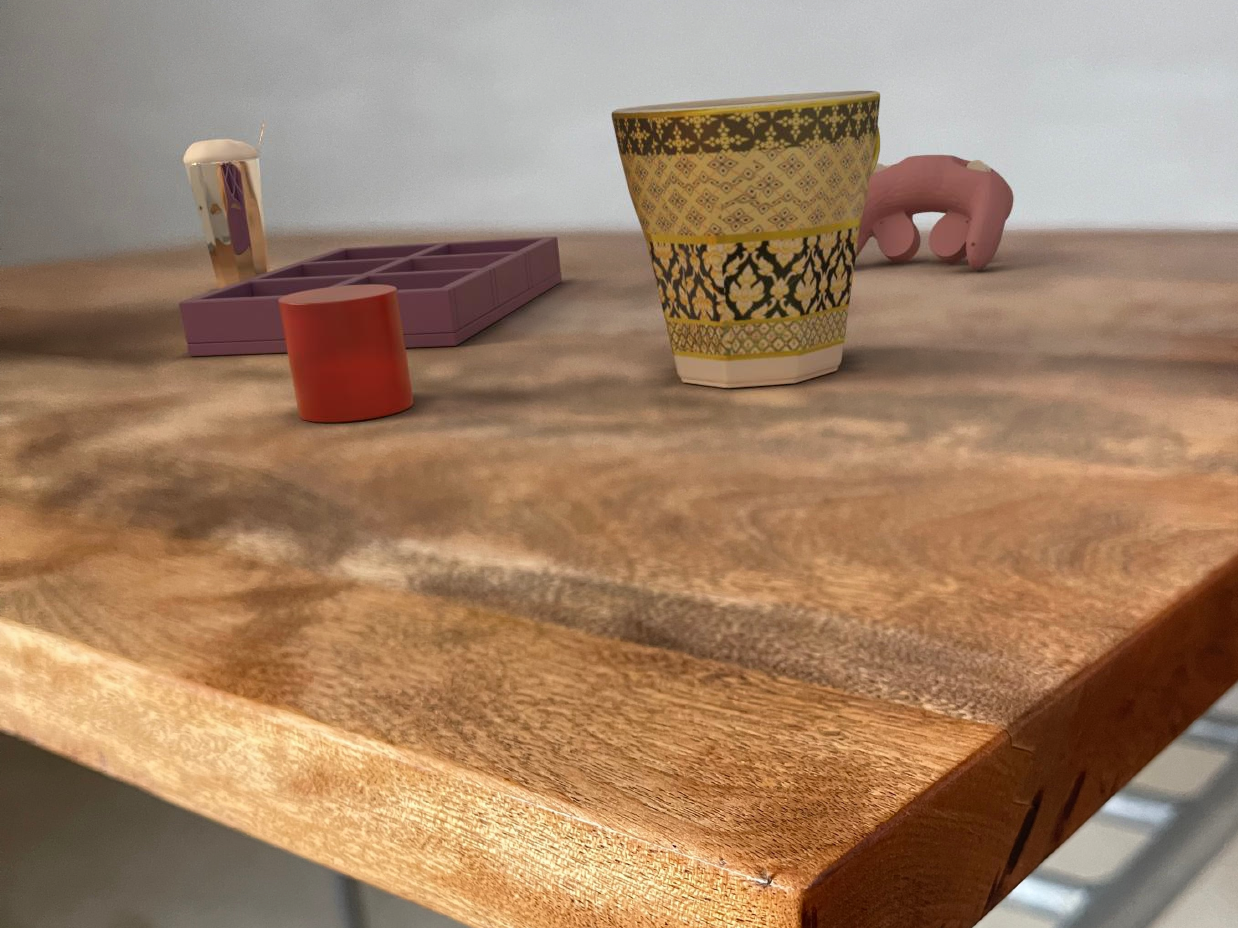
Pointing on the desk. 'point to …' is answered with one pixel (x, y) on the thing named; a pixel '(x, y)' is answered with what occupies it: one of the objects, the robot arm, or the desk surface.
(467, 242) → the purple compartment tray
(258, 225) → the milkshake
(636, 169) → the ceramic cup
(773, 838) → the desk surface
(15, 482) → the desk surface
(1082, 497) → the desk surface
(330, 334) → the red cylinder
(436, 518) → the desk surface
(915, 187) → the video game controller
